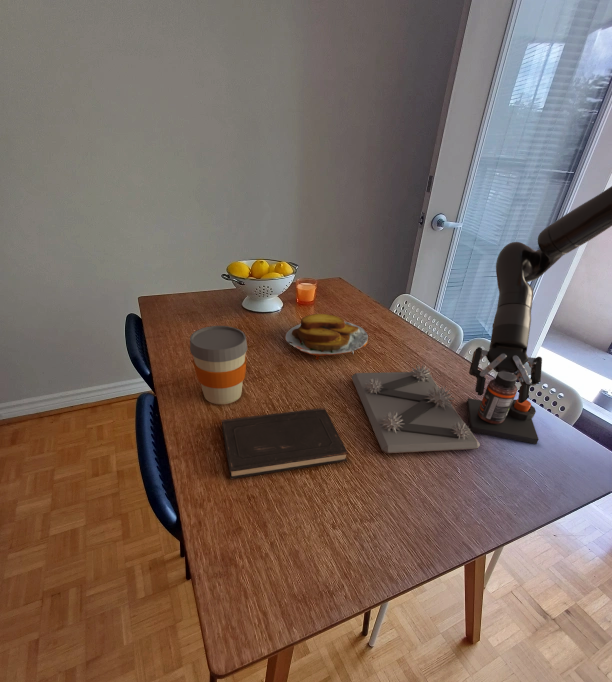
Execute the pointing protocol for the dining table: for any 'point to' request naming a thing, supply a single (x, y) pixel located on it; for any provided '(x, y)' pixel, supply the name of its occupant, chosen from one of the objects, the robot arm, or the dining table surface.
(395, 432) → the grey spiked board
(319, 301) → the dining table surface
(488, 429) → the kitchen scale
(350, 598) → the dining table surface
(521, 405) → the button
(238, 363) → the reusable coffee cup
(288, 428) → the hardcover book
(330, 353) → the food on plate
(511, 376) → the supplement bottle
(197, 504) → the dining table surface
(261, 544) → the dining table surface
